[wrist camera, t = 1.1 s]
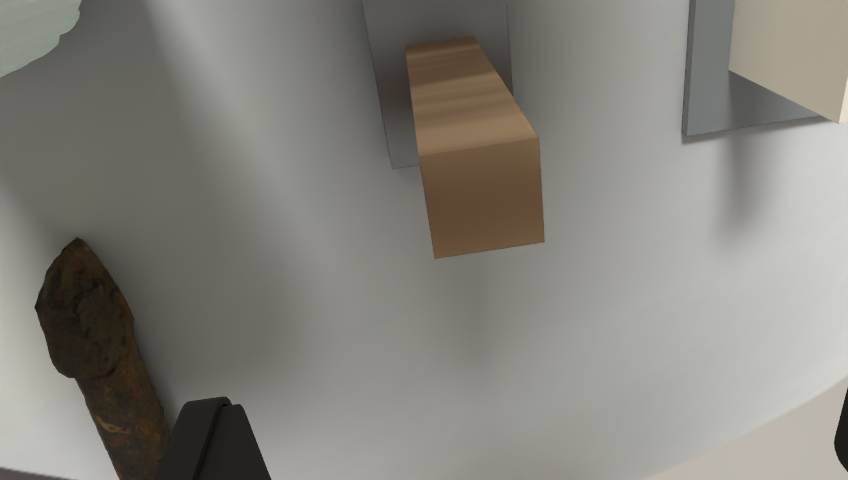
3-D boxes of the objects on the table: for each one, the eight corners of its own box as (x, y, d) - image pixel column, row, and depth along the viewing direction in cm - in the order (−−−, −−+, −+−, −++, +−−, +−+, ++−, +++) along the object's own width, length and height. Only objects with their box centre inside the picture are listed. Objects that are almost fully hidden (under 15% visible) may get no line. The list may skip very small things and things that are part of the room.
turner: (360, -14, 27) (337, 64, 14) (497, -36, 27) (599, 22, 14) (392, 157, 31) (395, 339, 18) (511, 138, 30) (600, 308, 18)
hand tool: (205, 479, 41) (186, 542, 37) (145, 482, 41) (119, 546, 37) (135, 230, 32) (99, 277, 28) (57, 233, 32) (9, 281, 28)
